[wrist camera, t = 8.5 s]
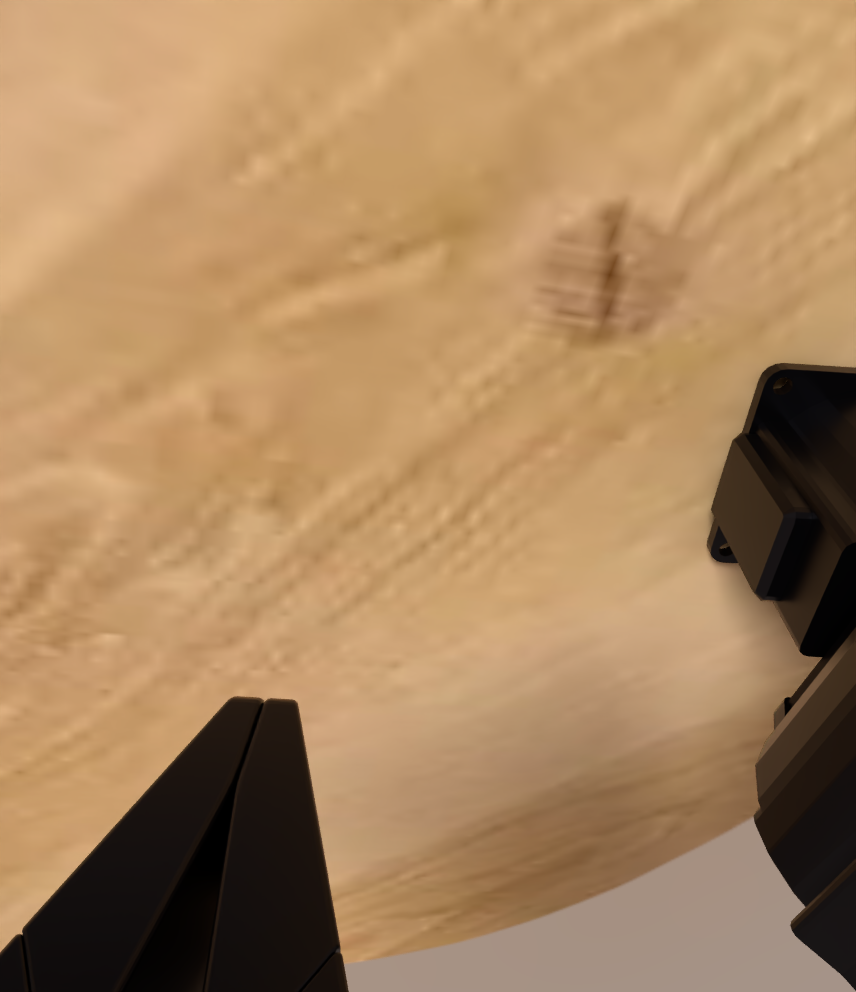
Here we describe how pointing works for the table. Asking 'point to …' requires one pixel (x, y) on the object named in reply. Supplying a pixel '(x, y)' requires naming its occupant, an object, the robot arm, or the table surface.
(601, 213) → the table surface
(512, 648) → the table surface
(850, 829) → the robot arm
